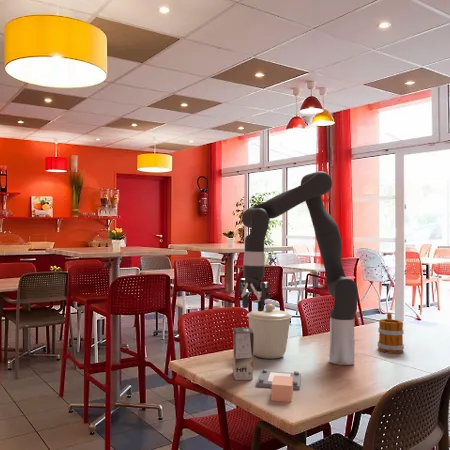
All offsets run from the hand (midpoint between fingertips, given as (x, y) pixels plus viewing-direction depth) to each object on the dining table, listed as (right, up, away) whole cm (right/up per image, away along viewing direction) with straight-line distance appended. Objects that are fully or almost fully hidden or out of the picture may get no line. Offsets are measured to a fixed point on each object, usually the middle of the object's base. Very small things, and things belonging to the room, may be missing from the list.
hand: (252, 309), depth 174 cm
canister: (+8, -23, +24) cm, 34 cm away
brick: (+8, -23, -23) cm, 34 cm away
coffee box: (-4, -23, -4) cm, 23 cm away
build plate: (+8, -23, -9) cm, 26 cm away
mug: (+62, -24, +39) cm, 77 cm away
